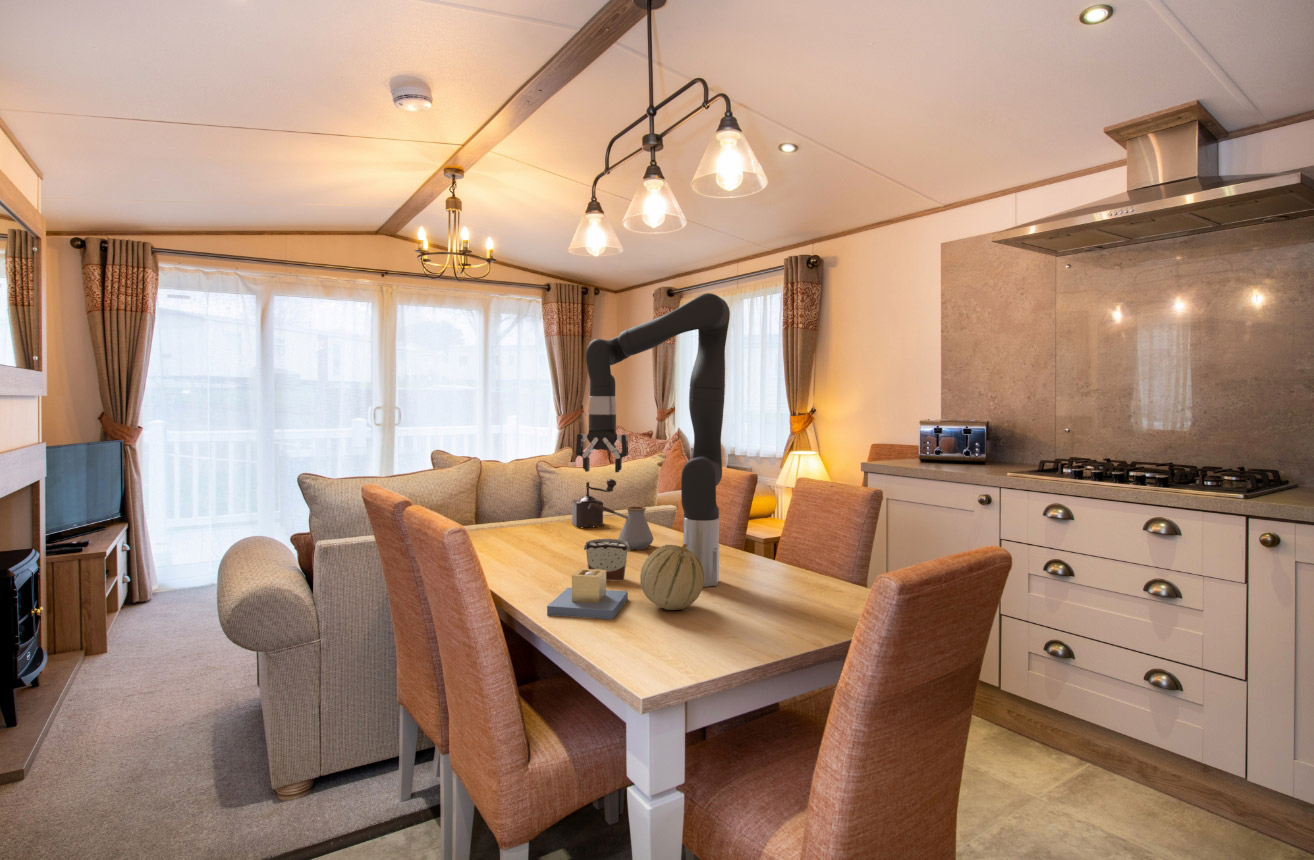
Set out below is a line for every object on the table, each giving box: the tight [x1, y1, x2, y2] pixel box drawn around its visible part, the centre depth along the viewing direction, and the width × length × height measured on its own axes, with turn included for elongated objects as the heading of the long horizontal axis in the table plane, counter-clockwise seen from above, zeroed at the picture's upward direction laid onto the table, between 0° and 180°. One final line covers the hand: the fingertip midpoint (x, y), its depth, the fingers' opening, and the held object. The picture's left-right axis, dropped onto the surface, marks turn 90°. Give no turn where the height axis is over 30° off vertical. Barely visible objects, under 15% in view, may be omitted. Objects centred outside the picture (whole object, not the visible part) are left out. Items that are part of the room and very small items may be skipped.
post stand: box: [546, 572, 629, 620], centre depth 154 cm, size 15×15×8 cm
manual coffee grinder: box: [571, 478, 617, 528], centre depth 255 cm, size 16×11×18 cm
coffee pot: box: [588, 503, 654, 550], centre depth 216 cm, size 21×12×15 cm, turn 102°
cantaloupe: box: [639, 543, 704, 611], centre depth 154 cm, size 15×15×15 cm
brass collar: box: [571, 568, 607, 603], centre depth 154 cm, size 6×6×6 cm
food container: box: [583, 538, 631, 582], centre depth 180 cm, size 12×6×10 cm, turn 84°
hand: (602, 471), depth 183 cm, fingers open, 8 cm apart
